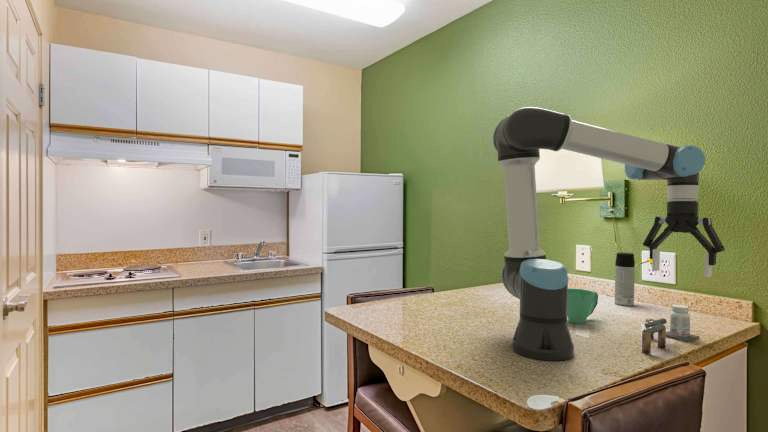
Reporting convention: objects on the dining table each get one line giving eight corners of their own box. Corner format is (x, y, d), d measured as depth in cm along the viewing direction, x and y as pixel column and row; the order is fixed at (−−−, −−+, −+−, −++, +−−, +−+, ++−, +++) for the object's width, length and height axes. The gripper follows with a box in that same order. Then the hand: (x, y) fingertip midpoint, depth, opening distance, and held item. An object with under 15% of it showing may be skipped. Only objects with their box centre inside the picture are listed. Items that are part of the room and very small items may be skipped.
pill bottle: (689, 334, 127) (689, 305, 127) (690, 338, 123) (691, 308, 123) (669, 331, 130) (670, 303, 129) (670, 335, 126) (670, 306, 125)
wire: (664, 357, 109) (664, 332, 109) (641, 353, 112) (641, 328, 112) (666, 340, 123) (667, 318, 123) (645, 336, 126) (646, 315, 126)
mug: (580, 327, 136) (581, 295, 136) (554, 320, 144) (554, 290, 144) (608, 321, 143) (609, 291, 143) (582, 314, 152) (582, 286, 152)
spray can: (634, 303, 170) (635, 253, 169) (633, 307, 164) (634, 254, 164) (615, 301, 173) (616, 251, 173) (613, 304, 168) (614, 253, 167)
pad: (687, 342, 121) (687, 340, 121) (661, 335, 127) (661, 333, 127) (699, 338, 125) (699, 336, 125) (672, 332, 131) (672, 330, 131)
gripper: (740, 200, 117) (738, 278, 117) (644, 200, 138) (642, 267, 138) (728, 199, 113) (726, 280, 113) (631, 200, 134) (630, 268, 134)
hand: (680, 273), depth 126 cm, fingers open, 13 cm apart
